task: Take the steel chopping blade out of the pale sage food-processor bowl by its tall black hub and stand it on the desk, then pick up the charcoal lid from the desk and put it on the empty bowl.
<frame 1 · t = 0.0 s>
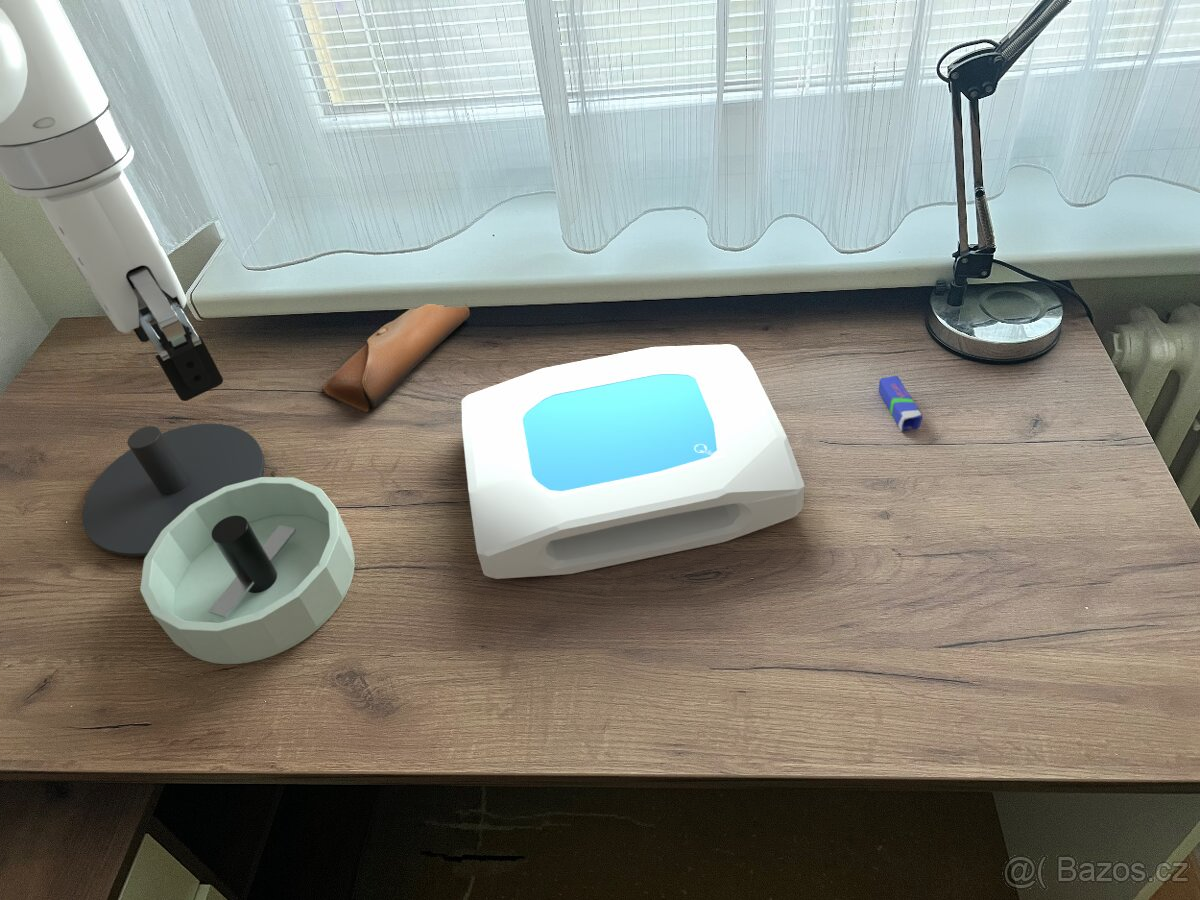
hand: (180, 360, 66), 21 cm above the table, tool pointing down, fingers open, 9 cm apart
sunglasses case: (399, 359, 100), on the table
document scanner: (623, 475, 83), on the table
blade: (260, 579, 78), resting on bowl
lid: (176, 487, 87), point 1 cm above the table
eraser: (897, 412, 86), on the table
bowl: (262, 583, 78), on the table
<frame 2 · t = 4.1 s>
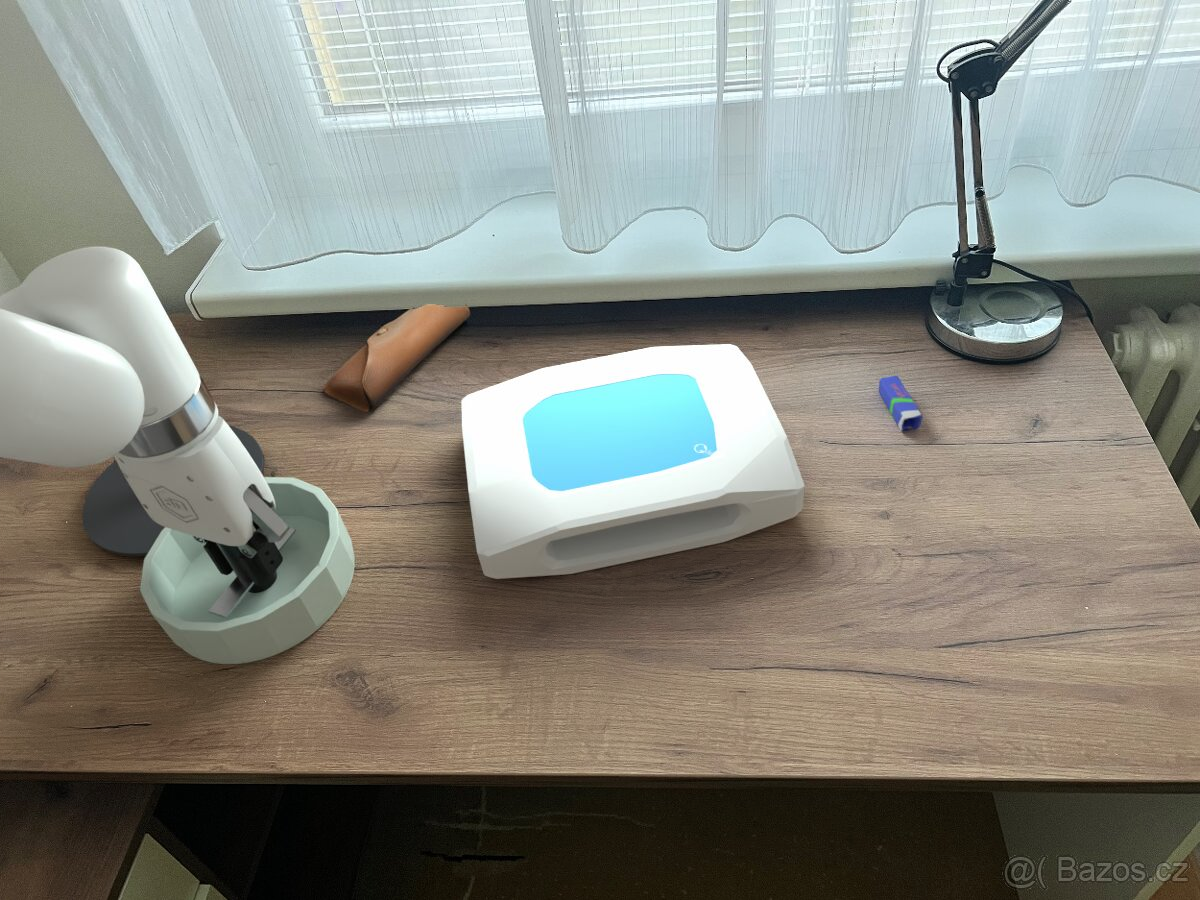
hand: (252, 566, 76), 2 cm above the table, tool pointing down, fingers closed on blade, 3 cm apart
blade: (260, 579, 78), point 1 cm above the table, touching bowl, gripper
everything else where it was.
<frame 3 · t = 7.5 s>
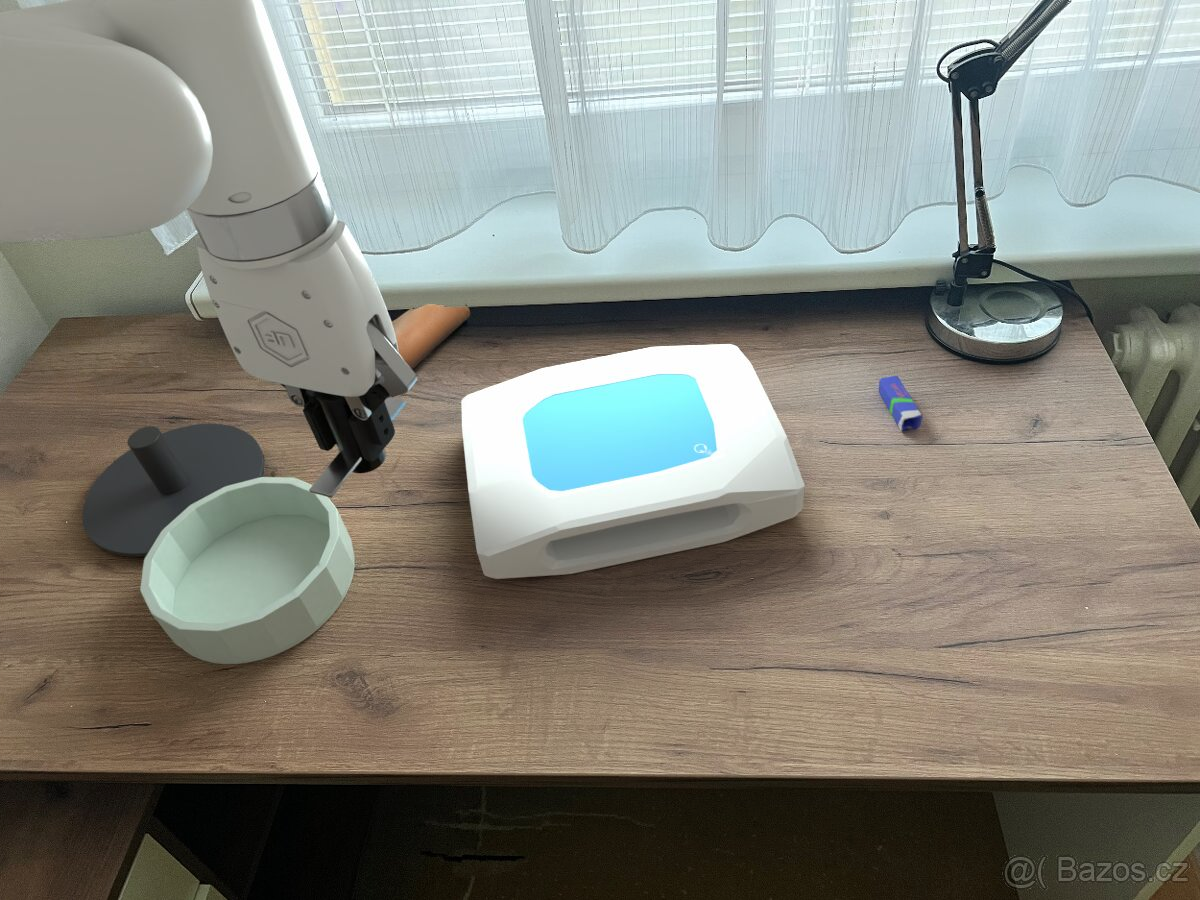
hand: (358, 440, 62), 19 cm above the table, tool pointing down, fingers closed on blade, 3 cm apart
blade: (365, 458, 64), point 17 cm above the table, touching gripper
everything else where it was.
when the fingers open (4 cm above the table, at t = 11.0 s): blade drops 2 cm, on the table.
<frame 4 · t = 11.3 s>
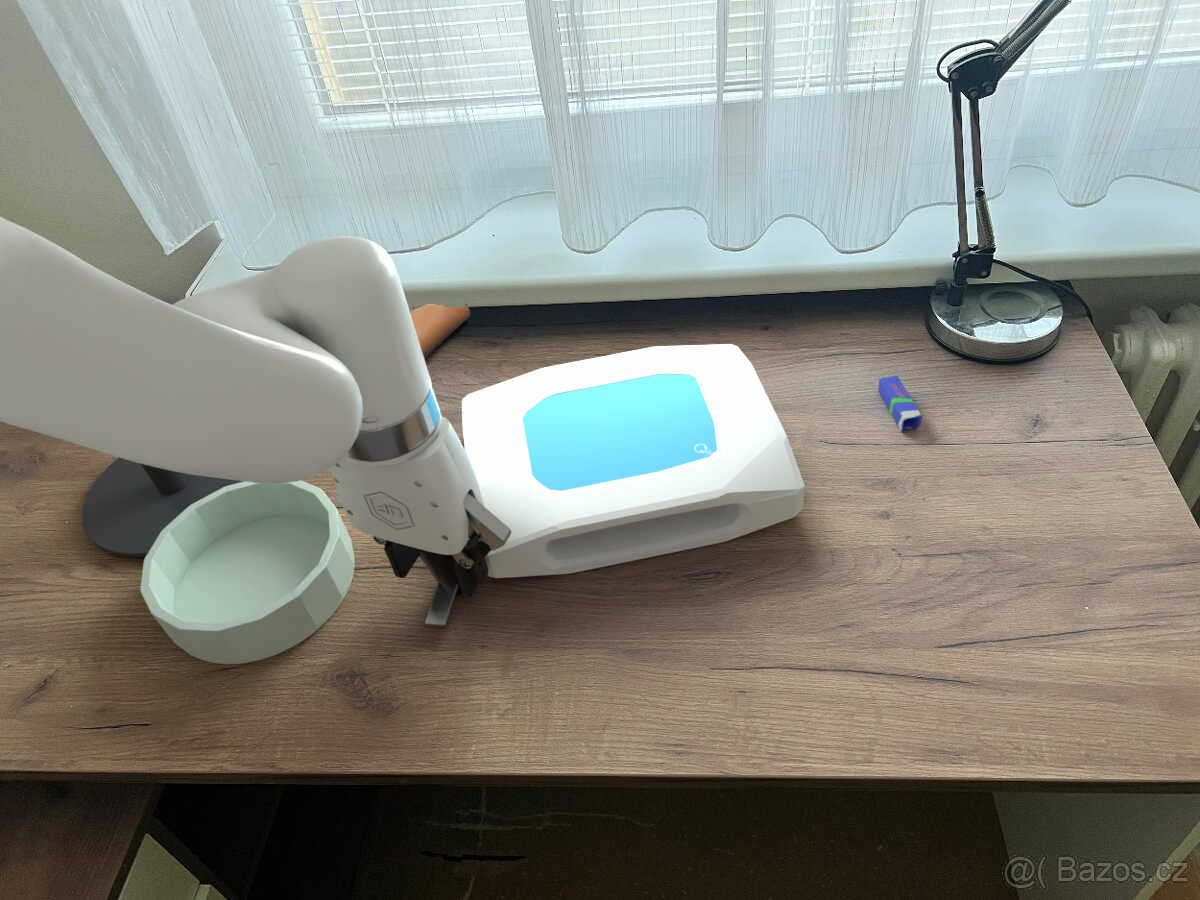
hand: (441, 572, 72), 3 cm above the table, tool pointing down, fingers open, 5 cm apart
blade: (458, 581, 76), on the table, tilted 9°
everything else where it was.
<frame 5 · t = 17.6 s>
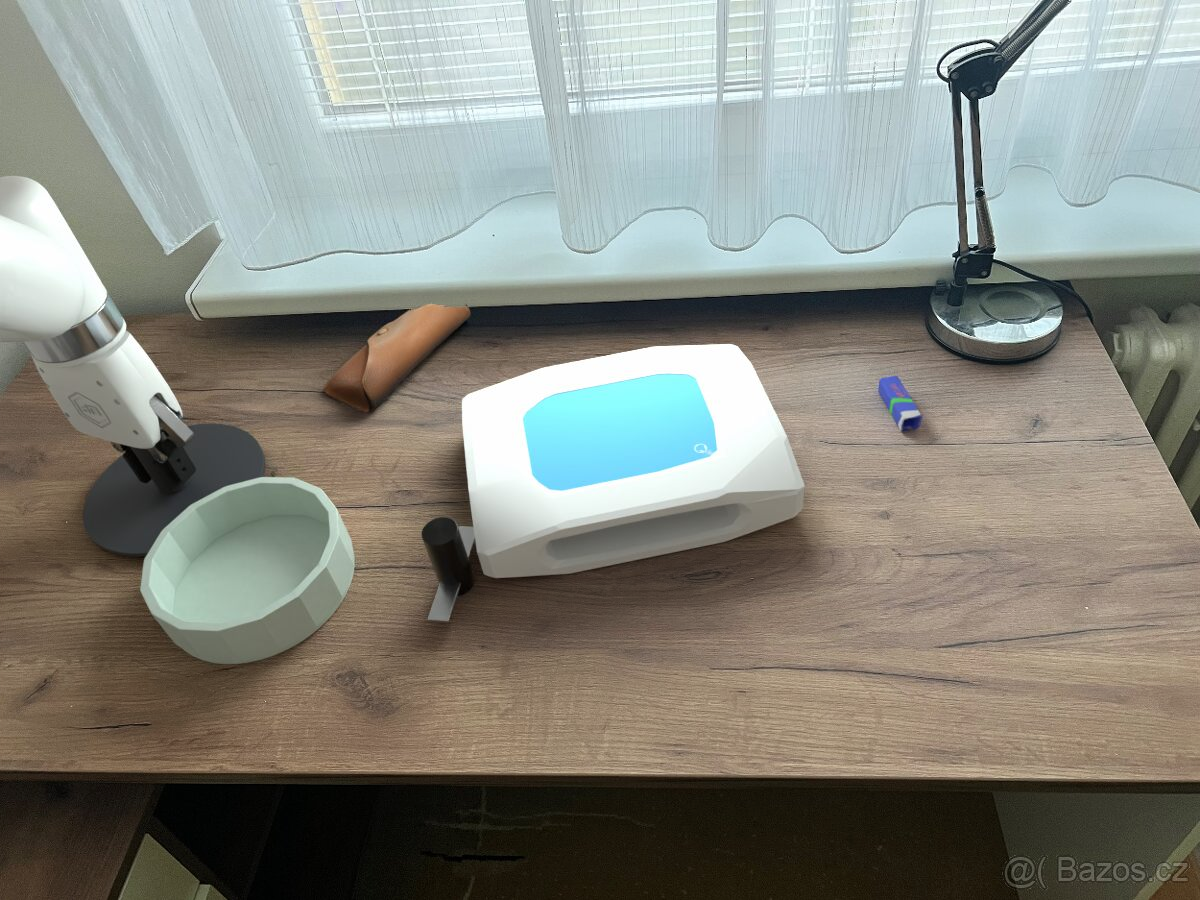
hand: (168, 475, 86), 2 cm above the table, tool pointing down, fingers closed on lid, 3 cm apart
blade: (457, 582, 76), on the table
lid: (176, 487, 87), point 1 cm above the table, touching gripper
everything else where it was.
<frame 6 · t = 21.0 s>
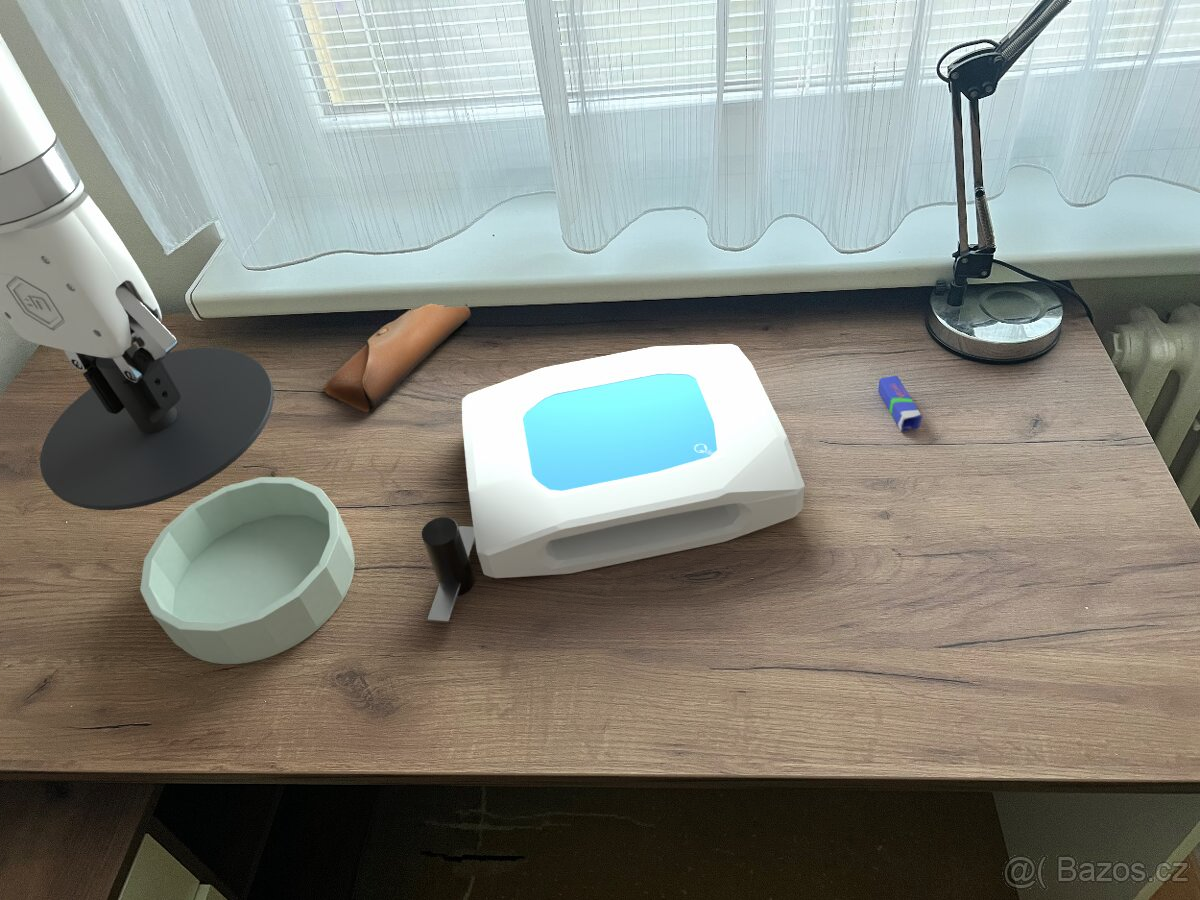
hand: (145, 404, 66), 20 cm above the table, tool pointing down, fingers closed on lid, 3 cm apart
lid: (161, 424, 68), point 17 cm above the table, touching gripper
everything else where it was.
when the fingers open (7 cm above the table, at t = 24.2 s): lid stays where it is, resting on bowl.
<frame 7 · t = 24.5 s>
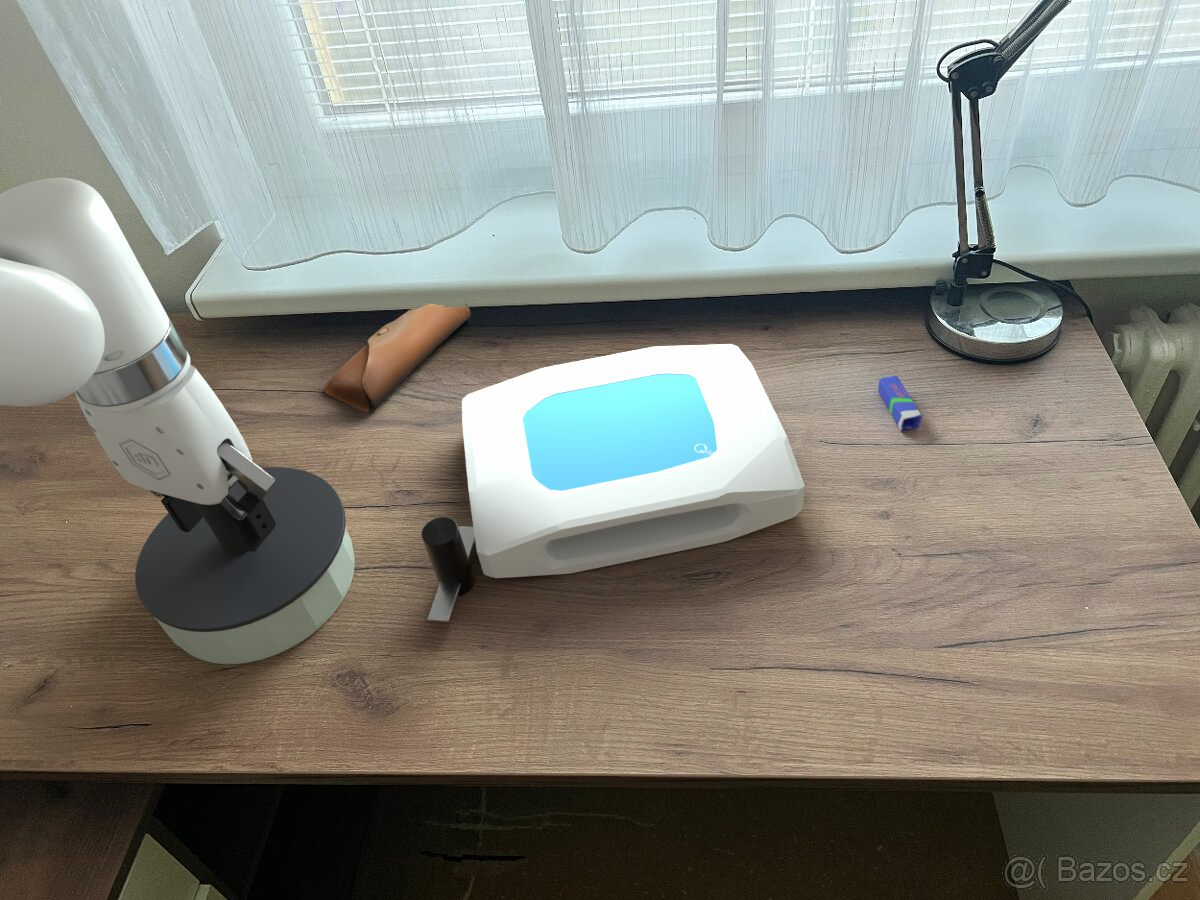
hand: (228, 527, 73), 8 cm above the table, tool pointing down, fingers open, 6 cm apart
lid: (243, 544, 75), point 5 cm above the table, touching bowl
everything else where it was.
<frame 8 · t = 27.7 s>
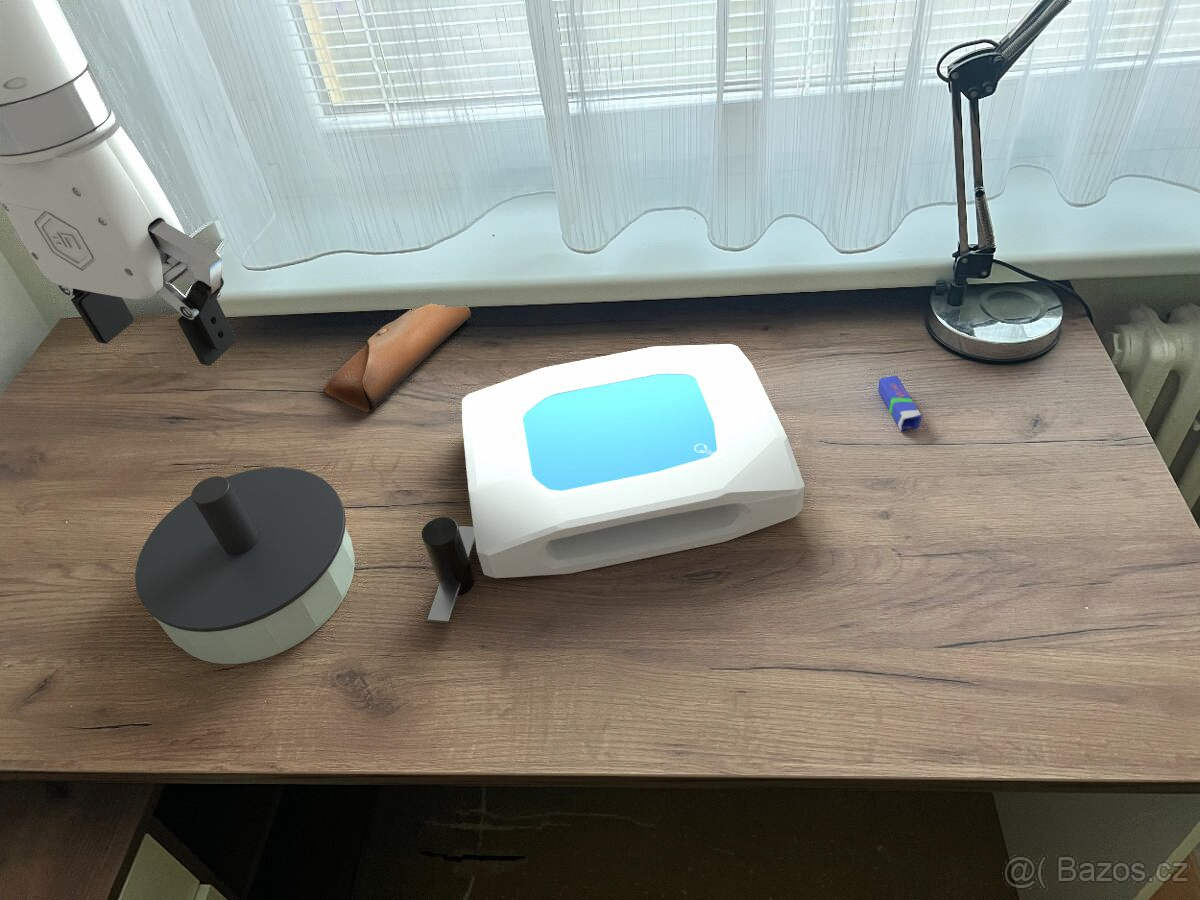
hand: (167, 342, 63), 24 cm above the table, tool pointing down, fingers open, 9 cm apart
nothing on the table moved.
at the end: blade inside the target area (1.6 cm from its centre), on the table; blade tilted 0°; lid 0.4 cm off-centre on the bowl, point 5.0 cm above the bowl's base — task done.
